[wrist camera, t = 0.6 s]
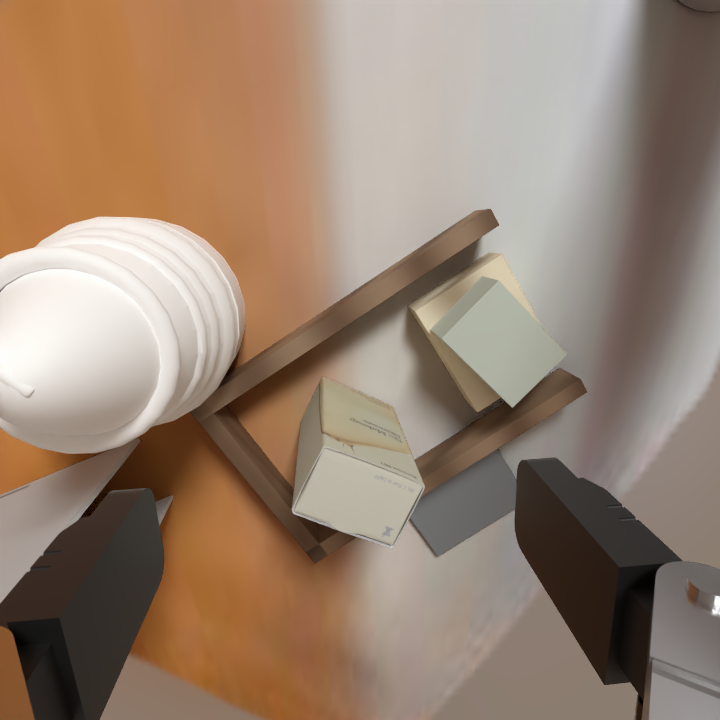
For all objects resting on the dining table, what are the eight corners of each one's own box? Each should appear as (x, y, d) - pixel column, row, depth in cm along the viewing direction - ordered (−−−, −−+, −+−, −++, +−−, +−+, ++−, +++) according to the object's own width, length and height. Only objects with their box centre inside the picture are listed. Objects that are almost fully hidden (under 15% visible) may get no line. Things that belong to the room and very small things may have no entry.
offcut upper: (482, 276, 33) (498, 280, 30) (546, 343, 35) (567, 354, 32) (430, 329, 33) (441, 338, 30) (495, 393, 35) (512, 407, 32)
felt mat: (487, 434, 39) (489, 436, 38) (526, 497, 41) (528, 500, 40) (393, 494, 39) (394, 496, 39) (436, 553, 41) (437, 556, 41)
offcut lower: (486, 252, 35) (502, 254, 33) (540, 350, 38) (559, 360, 35) (406, 304, 36) (415, 311, 33) (464, 399, 38) (477, 412, 35)
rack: (475, 210, 34) (490, 208, 31) (566, 380, 38) (587, 392, 35) (197, 394, 35) (187, 409, 33) (314, 539, 40) (314, 563, 37)
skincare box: (393, 405, 37) (432, 484, 26) (369, 454, 38) (396, 552, 26) (319, 374, 36) (324, 442, 24) (295, 425, 37) (289, 515, 25)
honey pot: (16, 331, 33) (-303, 442, 16) (119, 176, 31) (-115, 108, 14) (179, 433, 36) (61, 619, 19) (282, 297, 34) (255, 365, 17)
